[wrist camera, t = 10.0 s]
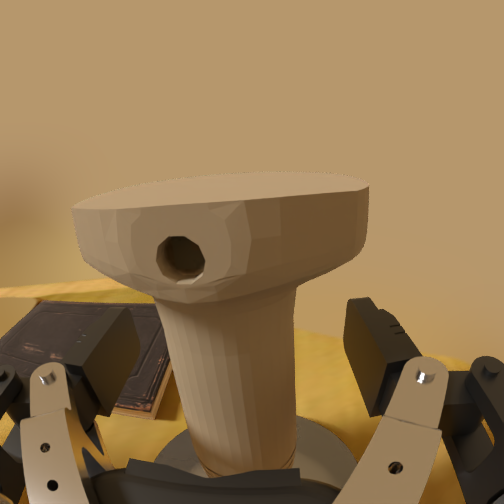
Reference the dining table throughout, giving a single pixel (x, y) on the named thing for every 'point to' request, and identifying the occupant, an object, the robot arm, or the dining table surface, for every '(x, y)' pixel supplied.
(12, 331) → the hardcover book
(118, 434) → the dining table surface
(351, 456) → the disk
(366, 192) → the handle
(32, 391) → the robot arm
